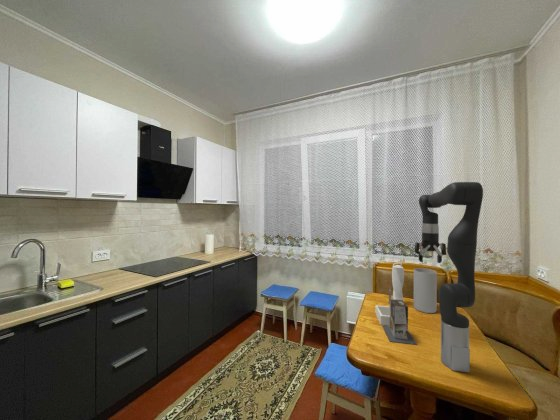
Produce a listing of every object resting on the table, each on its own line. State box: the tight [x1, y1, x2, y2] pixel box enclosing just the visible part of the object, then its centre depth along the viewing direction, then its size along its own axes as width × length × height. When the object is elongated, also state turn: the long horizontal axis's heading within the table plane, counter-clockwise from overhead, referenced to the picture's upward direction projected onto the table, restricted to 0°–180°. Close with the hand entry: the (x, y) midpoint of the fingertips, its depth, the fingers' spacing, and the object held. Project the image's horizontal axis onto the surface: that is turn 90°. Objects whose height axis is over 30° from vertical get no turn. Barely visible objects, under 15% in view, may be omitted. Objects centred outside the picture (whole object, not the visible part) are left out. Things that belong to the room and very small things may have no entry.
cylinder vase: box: [413, 267, 438, 314], centre depth 145 cm, size 12×12×25 cm
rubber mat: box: [381, 325, 418, 346], centre depth 115 cm, size 15×12×1 cm
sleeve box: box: [374, 304, 390, 326], centre depth 131 cm, size 14×11×5 cm
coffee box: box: [389, 298, 409, 340], centre depth 115 cm, size 9×6×16 cm
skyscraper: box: [388, 261, 405, 303], centre depth 153 cm, size 8×8×28 cm
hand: (430, 262), depth 120 cm, fingers open, 8 cm apart
